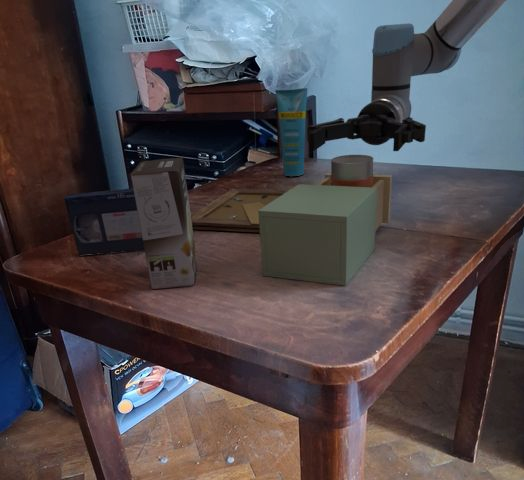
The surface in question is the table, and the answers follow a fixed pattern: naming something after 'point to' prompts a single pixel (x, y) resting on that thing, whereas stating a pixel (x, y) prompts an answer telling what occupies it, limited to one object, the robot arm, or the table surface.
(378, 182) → the drawer
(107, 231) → the vhs cassette tape
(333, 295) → the table surface
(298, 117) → the tube
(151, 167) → the coffee box
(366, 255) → the cabinet
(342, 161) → the tin can
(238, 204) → the picture frame
